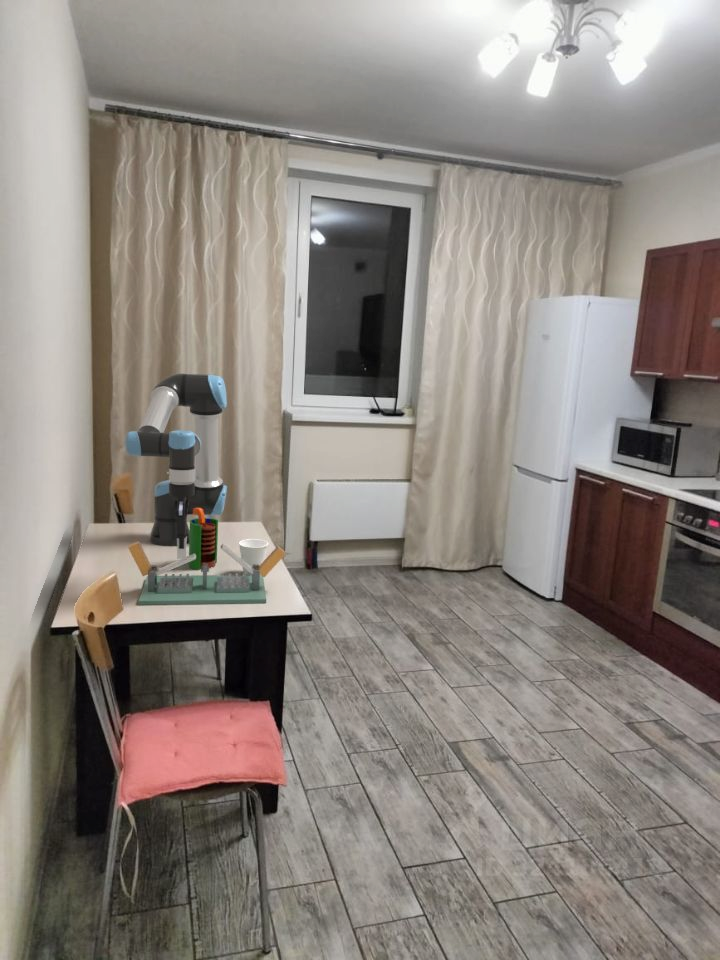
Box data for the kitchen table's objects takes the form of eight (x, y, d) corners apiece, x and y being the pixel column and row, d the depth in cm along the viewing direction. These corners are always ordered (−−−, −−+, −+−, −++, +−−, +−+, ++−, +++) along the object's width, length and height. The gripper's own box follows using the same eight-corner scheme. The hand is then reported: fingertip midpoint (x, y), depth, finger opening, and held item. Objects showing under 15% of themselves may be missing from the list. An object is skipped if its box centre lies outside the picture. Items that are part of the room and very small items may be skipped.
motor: (208, 571, 235) (208, 513, 231) (183, 568, 236) (183, 511, 232) (220, 562, 245) (221, 507, 241) (196, 559, 246) (196, 504, 242)
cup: (241, 568, 239) (241, 537, 237) (269, 570, 239) (270, 539, 237) (235, 578, 229) (235, 546, 227) (264, 580, 229) (265, 548, 227)
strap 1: (145, 582, 211) (128, 547, 208) (146, 578, 214) (129, 544, 211) (196, 560, 213) (179, 526, 210) (196, 557, 216) (180, 523, 213)
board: (147, 579, 224) (147, 575, 224) (262, 578, 231) (262, 574, 231) (138, 605, 203) (138, 601, 202) (266, 602, 210) (266, 599, 209)
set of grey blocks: (150, 582, 218) (150, 560, 217) (258, 581, 224) (258, 559, 223) (147, 593, 209) (147, 570, 207) (259, 592, 215) (260, 569, 213)
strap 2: (259, 579, 221) (284, 551, 220) (260, 582, 218) (285, 554, 218) (219, 547, 216) (245, 518, 216) (219, 550, 213) (245, 521, 213)
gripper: (170, 478, 214) (170, 551, 218) (167, 486, 202) (167, 564, 206) (195, 478, 216) (195, 551, 220) (193, 486, 203) (193, 564, 207)
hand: (181, 557), depth 213 cm, fingers closed
